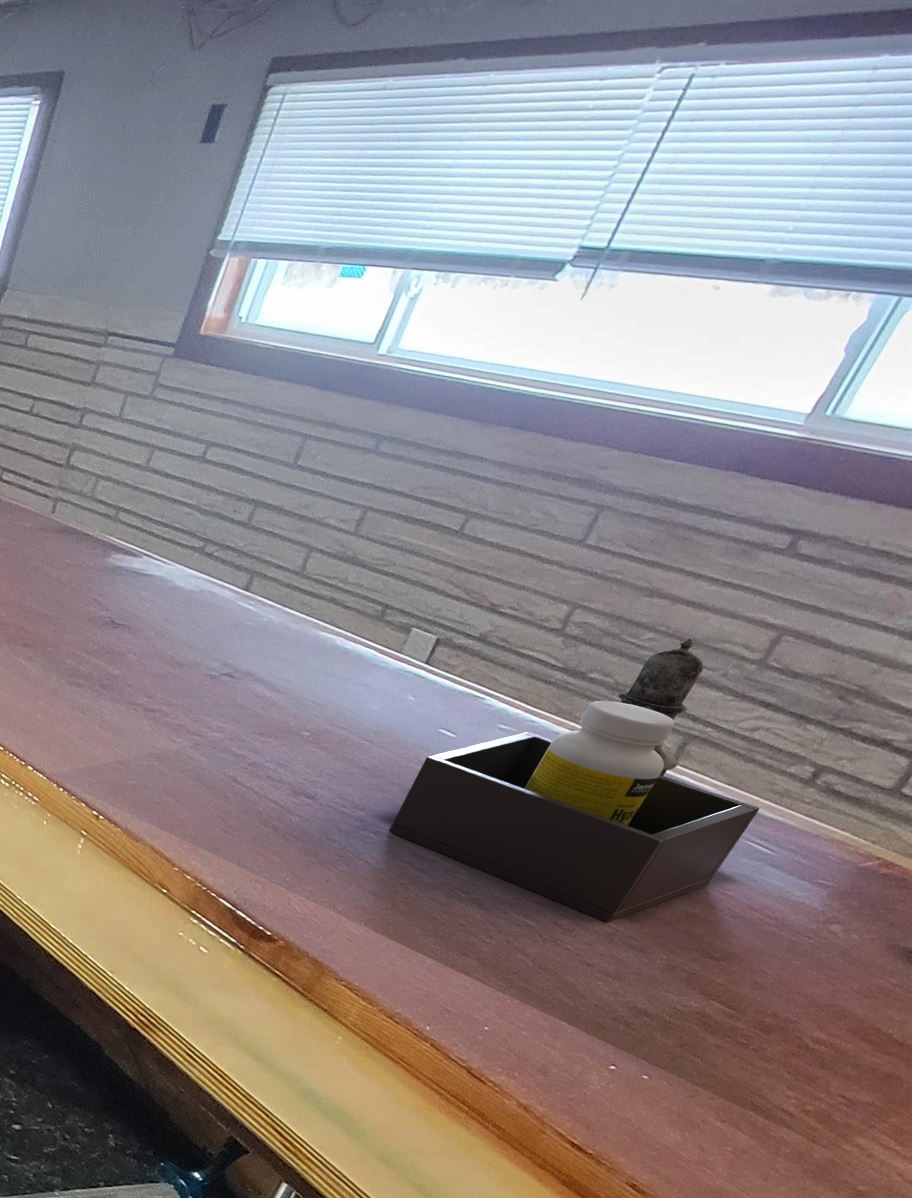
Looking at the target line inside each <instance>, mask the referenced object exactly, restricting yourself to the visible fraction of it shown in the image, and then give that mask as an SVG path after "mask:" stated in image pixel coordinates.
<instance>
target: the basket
mask: <svg viewBox="0 0 912 1198" xmlns="http://www.w3.org/2000/svg"><path fill="white" fill-rule="evenodd" d="M553 740H554V739H551V738H548V737H545V736H542V735H539V734H536V733H532V732H529V731H528V732H523V733H519V734H514V735H511V736H507V737H502V738H499V739H494V740H490V741H486V742H482V743H478V744H474V745H471V746H467V747H461V748H458V749H454V750H450V751H446V752H441V753H438V754H434V755H431V756H426V758H425V760H424V761H423V764H422V766H421V767H420V769H419V772H418V773H417V775H416V777H415V779H414V781H413V783H412V785H411V787H410V788H409V790H408V792H407V794H406V796H405V798H404V800H403V803H402V804H401V806H400V807H399V810H398V812H397V814H396V815H395V818H394V819H393V821H392V823H391V825H390V827H389V829H388V833H391V834H393V835H396V836H398V837H401V838H403V839H405V840H408V841H410V842H413V843H414V844H417V845H420V846H422V847H425V848H428V849H429V850H432V851H434V852H437V853H439V854H442V855H443V856H447V857H449V858H452V859H454V860H456V861H459V862H460V863H464V864H465V865H468V866H471V867H473V868H475V869H478V870H480V871H482V872H485V873H488V874H490V875H492V876H495V877H497V878H500V879H502V880H505V881H506V882H508V883H512V884H514V885H515V886H516V885H517V886H519V887H522V888H523V889H526V890H529V891H530V892H533V893H535V894H538V895H541V896H543V897H545V898H548V899H550V900H551V901H555V902H557V903H559V904H562V905H564V906H567V907H569V908H572V909H574V910H577V911H579V912H582V913H584V914H586V915H588V916H591V917H594V918H596V919H598V920H601V921H604V922H605V923H609V922H613V921H615V920H618V919H621V918H623V917H626V916H628V915H632V914H633V913H636V912H640V911H642V910H645V909H647V908H650V907H653V906H655V905H657V904H661V903H663V902H666V901H669V900H672V899H674V898H676V897H679V896H681V895H685V894H688V893H689V892H692V891H695V890H698V889H700V888H703V887H706V886H708V885H709V884H710V883H711V881H712V880H713V877H714V876H715V875H716V874H717V872H718V871H719V869H720V867H721V866H722V865H723V864H724V862H725V860H726V859H727V857H728V856H729V854H730V853H731V851H732V850H733V849H734V847H735V846H736V844H737V843H738V841H739V839H740V838H741V837H742V836H743V834H744V832H745V831H746V830H747V828H748V827H749V826H750V824H751V822H752V821H753V820H754V818H755V817H756V815H757V813H759V811H760V807H759V806H756V805H753V804H749V803H747V802H744V801H741V800H737V799H735V798H731V797H728V796H725V795H722V794H719V793H716V792H713V791H710V790H707V789H704V788H701V787H698V786H695V785H692V784H688V783H685V782H683V781H679V780H676V779H673V778H670V777H667V776H665V775H664V776H661V775H659V777H658V779H657V780H656V782H655V783H654V785H653V787H652V788H651V790H650V791H649V793H648V794H647V796H646V798H645V799H644V801H643V802H642V804H641V805H640V807H639V808H638V810H637V812H636V813H635V815H634V816H633V818H632V819H631V821H630V822H629V824H628V825H627V826H626V825H623V824H620V823H618V822H615V821H612V820H609V819H607V818H604V817H601V816H598V815H595V814H593V813H590V812H587V811H584V810H582V809H579V808H576V807H573V806H570V805H568V804H565V803H562V802H559V801H556V800H554V799H551V798H548V797H545V796H543V795H540V794H537V793H534V792H531V791H529V790H526V789H524V788H525V786H526V785H527V783H528V781H529V780H530V778H531V776H532V775H533V773H534V771H535V770H536V768H537V766H538V765H539V763H540V761H541V759H542V758H543V756H544V754H545V753H546V751H547V749H548V747H549V746H550V744H551V743H552V741H553Z"/></svg>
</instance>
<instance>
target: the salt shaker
mask: <svg viewBox="0 0 912 1198" xmlns="http://www.w3.org/2000/svg"><path fill="white" fill-rule="evenodd" d="M679 644H680V647H679V648H674V649H664V650H660V651H656V652H655V653H652V654H651V655H649V657H648V658H647V660H646V661H645V662H644V665H643V666H642V667H641V669H640V671H639V673H638V675H637V676H636V677H635V680H634V681H633V683H632V684H631V687H630V688H629V690H626V691H621V692H619V693H618V697H619V699H620V703H625V704H631V705H635V706H639V707H643V708H647V709H650V710H653V711H656V712H659V713H662V714H664V715H666V716H668V717H670V718H671V719H673V720H674V721H675V718H676V717H677V715H678V714H680V713H685V712H686V711H687V710H688V709H687V706H686V705H684V704H683V703H684V701H685V700H686V698H687V696H688V695H689V693H690V691H691V690H692V688H693V687H694V685H695V683H696V682H697V680H698V679H699V677H700V675H701V673H702V672H703V669H704V665H703V661H702V660H701V659H700V658H699V657H698V656H696V655H695V654H693V653H692V651H690V648H692V647H694V645H693V641H692V639H691V638H688V639H687V640H684V641H683V642H680V643H679ZM662 747H663V743H662V744H661V745H657V746H655V747H654V749H653V750H654V751H655V752H657V753H658V754H659V755H660V756H661V758H662V760H663V762H664V767H663V770H662V772H661V773H660V775H661V776H664V777H665V774H666V773H667V771H669V770H673V769H675V768H677V767H678V761H677V760H676V759H675V758H674V757H673V756H671V755H670V754H668V753H667V752H665V751H664V750H663V748H662Z"/></svg>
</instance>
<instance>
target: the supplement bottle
mask: <svg viewBox="0 0 912 1198" xmlns="http://www.w3.org/2000/svg"><path fill="white" fill-rule="evenodd" d="M620 702H621V701H620ZM620 702H619V701H612V700H595V701H592V702H591V703H590V704H589V706H588V707H587V709H586V710H585V711H584V713H583V715H582V716H581V720H580V721H578V722H579V726H581V727H580V729H579V730H571V731H566V732H563V733H560V734H558V735H557V736H556V737H555V738H554V739H552V740H553V741H552V743H551V744H550V746H549V747H548V749H547V751H546V753H545V754H544V756H543V758H542V759H541V761H540V763H539V765H538V766H537V768H536V770H535V771H534V773H533V775H532V776H531V778H530V780H529V781H528V783H527V785H526V786H525V788H524V789H526V790H529V791H531V792H534V793H537V794H540V795H543V796H545V797H548V798H551V799H554V800H556V801H559V802H562V803H565V804H568V805H570V806H573V807H576V808H579V809H582V810H584V811H587V812H590V813H593V814H595V815H598V816H601V817H604V818H607V819H609V820H612V821H615V822H618V823H620V824H623V825H626V826H627V825H628V824H629V822H630V821H631V819H632V818H633V816H634V815H635V813H636V812H637V810H638V808H639V807H640V805H641V804H642V802H643V801H644V799H645V798H646V796H647V794H648V793H649V791H650V790H651V788H652V787H653V785H654V783H655V782H656V780H657V779H658V777H659V775H660V773H661V772H662V770H663V767H664V762H663V760H662V758H661V756H660V755H659V754H658V753H657V752H655V751H654V750H653V749H654V747H655V746H657V745H661V744H662V745H663V744H664V741H666V740H667V739H668V737H669V735H670V733H671V731H672V730H673V729H674V727H675V725H676V722H675V719H674V720H673V719H671V718H670V717H668V716H666V715H664V714H662V713H659V712H656V711H653V710H650V709H647V708H643V707H639V706H635V705H631V704H625V703H620Z"/></svg>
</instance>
